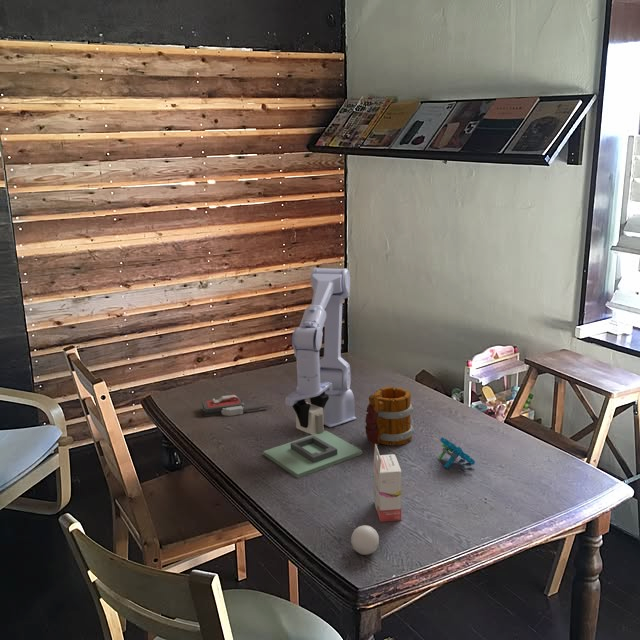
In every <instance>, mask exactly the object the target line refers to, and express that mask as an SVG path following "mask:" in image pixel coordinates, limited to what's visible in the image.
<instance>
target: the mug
mask: <svg viewBox="0 0 640 640" xmlns="http://www.w3.org/2000/svg"><path fill="white" fill-rule="evenodd" d="M411 398H412V394H411V392H410V391H409V390H407V389H405V388H402V387H394V386H386V387H385V386H384V387H382V388H379V389H378V390H376V391H374V394H370V395H369V396H368V401H369V404H368V406H367V408H366V414H365V415H366V416H365V427H364V429H365V434H366V436H367V440H368V442H369V443H370V444H371V446H372V447H375V444H376V446H377V447H378V445H379V444H381V445H384V446H395V447H396V446H402V445H406V444H408V443H410V442H412V439H413V434H414V432H415V430H414V427H413V425H412V423H411V422H412V421H411V420H412V419H411V414H412V413H413V411H414V408H413V405H412V403H411V400H412V399H411Z"/></svg>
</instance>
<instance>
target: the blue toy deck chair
mask: <svg viewBox="0 0 640 640" xmlns="http://www.w3.org/2000/svg"><path fill="white" fill-rule="evenodd" d="M439 441H440V442H441V446H442V447H443V448H441V450H442V452H441V453H440V455H439V456H438V460H440V461H441V460H442V459H443V457H444V456H445V454H447V455H449V456H450V458H448V460H447V461H446V462H445V464H444V467H445V468H446V469H449V468H450V466H451V465H452V463H453V462H454V460H457V458H458V457H460V458H461V459H463V460H464V461H466V462H467V463H469V464H471V465H473V466H474V465H475V463H476V461H475V459H473V458H472V457H471V456H470V455H469V454H467V453H465V452H464V451H463V450H462V447H460V446H456V445H455V444H454V443H453V442H452V441H449V440H448V439H446V438H444V437H441V438H440V439H439Z"/></svg>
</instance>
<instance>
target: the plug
mask: <svg viewBox="0 0 640 640" xmlns="http://www.w3.org/2000/svg"><path fill="white" fill-rule="evenodd" d="M306 403H308V404H310V405H311V406H310V409H309V414H308V427H307V428H304V427H301V426H300V423H299V419H298V417H297V414H296V413H295V423H296V424H295V427H296V428H295V429H297V430H300V431H302V432H305V433H307V434H308V435H313V434H321V433H323V431H325V429H324V428H325V427H324V425H325V424H324V422H323V408H322V407H319V406H316V405H314V404H311V402H308V401H306Z"/></svg>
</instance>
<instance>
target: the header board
mask: <svg viewBox="0 0 640 640" xmlns="http://www.w3.org/2000/svg"><path fill="white" fill-rule="evenodd" d="M262 454H263V456H265V457H266V458H268V459H269V460H270V461H272V462H273V463H275V464H277V465H278V466H280V467H281V468H282V469H284V470H286V471H287V472H288V473H290V474H291V475H292V476H295V478H297V479H299V478H301V477H302V478H303V477H305V476H308V475H310V474H313V473H316V472H318V471H321V470H323V469H326V468H329V467H332V466H334V465H337V464H339V463H342V462H345V461H348V460H350V459H353V458H357V457H358V456H361V455H363V450H362V449H360V448H359V447H357V446H355V445H353V444H352V443H349V442H348V441H346V440H344V439H342V438H340V437H339V436H337V435H335V434H333V433H331V432H330V431H328V430H325V429H324V430H323V433H321V434H316V433H315V434H313V435H312V434H309V435H308V436H304V437H302V438H298V439H296V440H293V441H290V442H288V443H284V444H281V445H278V446H275V447H272V448H269V449H266V450H263V453H262Z"/></svg>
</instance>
